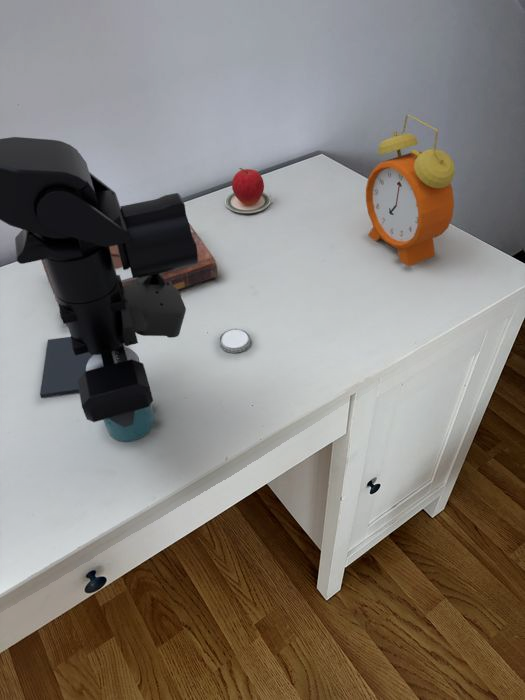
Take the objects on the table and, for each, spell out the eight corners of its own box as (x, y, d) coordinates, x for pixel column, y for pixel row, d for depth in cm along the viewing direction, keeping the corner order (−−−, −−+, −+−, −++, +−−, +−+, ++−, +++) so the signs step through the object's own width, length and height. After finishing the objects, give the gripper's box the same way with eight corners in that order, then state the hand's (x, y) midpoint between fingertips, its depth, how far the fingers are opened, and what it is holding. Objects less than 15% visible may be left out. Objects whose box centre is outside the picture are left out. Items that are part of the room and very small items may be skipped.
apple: (221, 195, 103) (218, 162, 99) (264, 189, 105) (263, 156, 100) (230, 218, 98) (227, 184, 93) (275, 211, 99) (274, 177, 94)
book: (69, 333, 79) (60, 307, 76) (43, 267, 88) (33, 242, 84) (218, 282, 86) (216, 257, 83) (180, 226, 95) (177, 201, 92)
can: (106, 445, 65) (84, 387, 58) (107, 407, 69) (86, 349, 61) (155, 437, 65) (139, 379, 58) (153, 401, 69) (138, 342, 62)
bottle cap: (251, 351, 75) (250, 347, 74) (220, 353, 74) (220, 350, 74) (248, 330, 77) (248, 327, 77) (219, 333, 77) (219, 329, 77)
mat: (41, 397, 70) (39, 394, 70) (48, 342, 77) (47, 339, 77) (122, 386, 71) (121, 383, 71) (122, 332, 78) (122, 329, 78)
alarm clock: (359, 231, 94) (372, 110, 80) (388, 221, 96) (406, 101, 82) (412, 273, 86) (437, 146, 71) (442, 260, 88) (473, 134, 73)
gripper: (196, 326, 48) (213, 436, 59) (151, 216, 60) (172, 324, 71) (62, 360, 45) (105, 469, 56) (44, 238, 58) (82, 346, 69)
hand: (120, 394), depth 63 cm, fingers open, 9 cm apart
